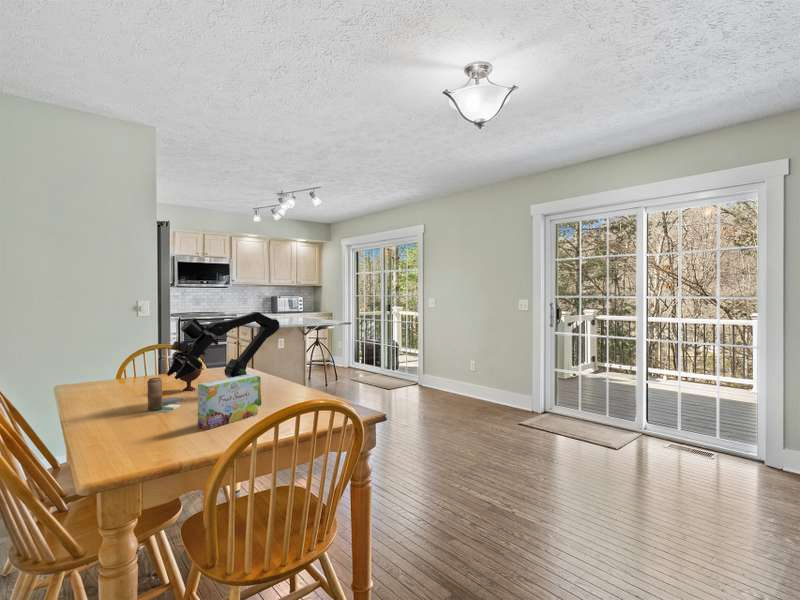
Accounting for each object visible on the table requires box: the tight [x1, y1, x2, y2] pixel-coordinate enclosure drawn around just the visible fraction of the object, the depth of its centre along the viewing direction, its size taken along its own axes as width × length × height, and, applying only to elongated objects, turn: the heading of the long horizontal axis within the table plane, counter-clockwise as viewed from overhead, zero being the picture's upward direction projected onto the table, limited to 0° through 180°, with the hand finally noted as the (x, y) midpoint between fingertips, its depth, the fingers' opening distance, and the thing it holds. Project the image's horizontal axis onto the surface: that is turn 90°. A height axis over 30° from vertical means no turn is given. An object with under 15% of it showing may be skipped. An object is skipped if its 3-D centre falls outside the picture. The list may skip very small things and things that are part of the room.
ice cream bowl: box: [175, 367, 202, 392], centre depth 201 cm, size 11×11×15 cm
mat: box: [144, 404, 181, 414], centre depth 169 cm, size 10×8×1 cm
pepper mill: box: [146, 377, 163, 412], centre depth 168 cm, size 5×5×12 cm
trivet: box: [162, 396, 185, 406], centre depth 181 cm, size 11×11×1 cm
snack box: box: [197, 373, 259, 431], centre depth 154 cm, size 21×6×15 cm, turn 148°
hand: (171, 376), depth 172 cm, fingers open, 9 cm apart
